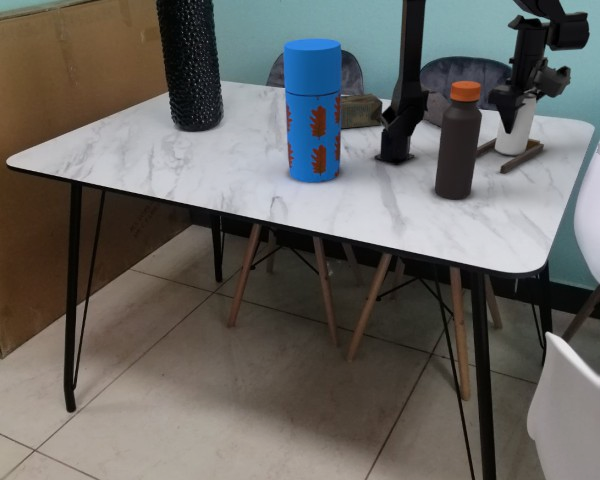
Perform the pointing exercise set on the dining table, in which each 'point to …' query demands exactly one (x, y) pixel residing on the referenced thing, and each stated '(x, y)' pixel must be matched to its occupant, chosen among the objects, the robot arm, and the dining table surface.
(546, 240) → the dining table surface
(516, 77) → the robot arm
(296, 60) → the thermos
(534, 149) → the brown wooden bent bar
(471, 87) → the bottle
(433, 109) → the perforated stone tool
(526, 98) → the can
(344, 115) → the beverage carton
